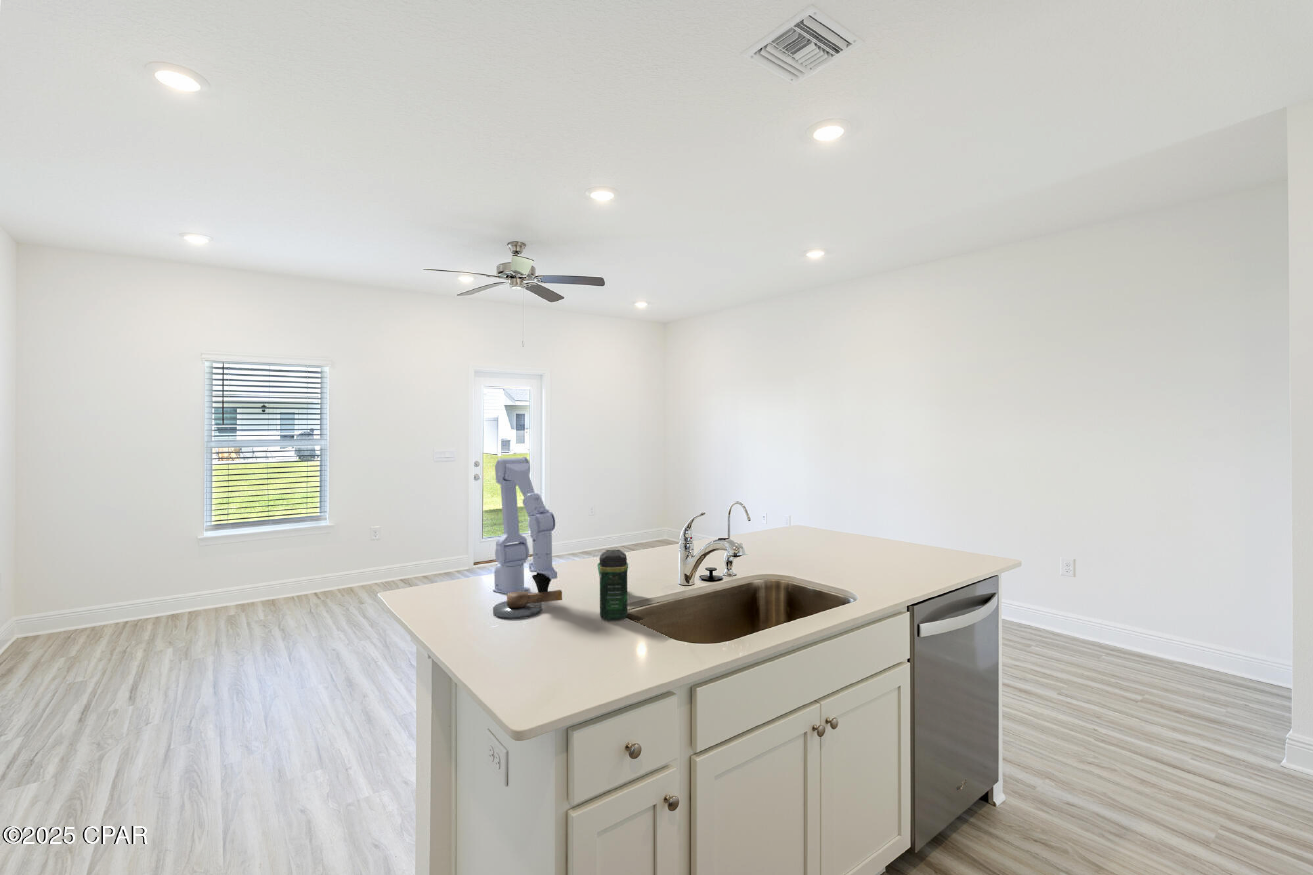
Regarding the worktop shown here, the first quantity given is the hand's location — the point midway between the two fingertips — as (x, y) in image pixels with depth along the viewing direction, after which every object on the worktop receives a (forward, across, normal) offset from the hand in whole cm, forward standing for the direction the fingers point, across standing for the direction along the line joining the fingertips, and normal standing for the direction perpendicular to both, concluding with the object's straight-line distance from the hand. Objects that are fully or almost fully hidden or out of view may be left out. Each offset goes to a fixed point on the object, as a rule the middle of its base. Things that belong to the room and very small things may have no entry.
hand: (543, 597), depth 178 cm
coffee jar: (+3, +21, +11) cm, 24 cm away
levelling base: (+3, -1, -8) cm, 8 cm away
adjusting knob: (+1, +1, -3) cm, 3 cm away
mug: (+3, +2, +24) cm, 24 cm away
